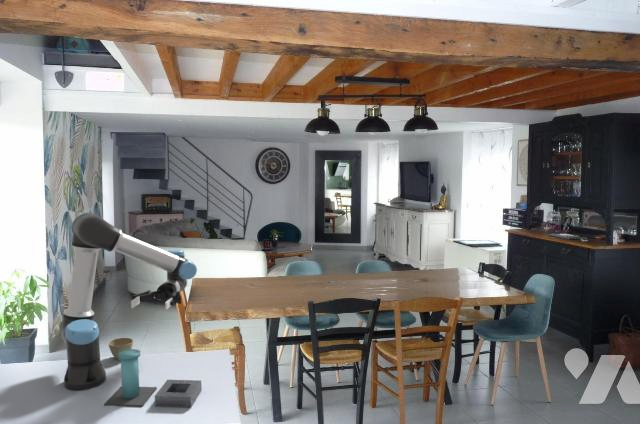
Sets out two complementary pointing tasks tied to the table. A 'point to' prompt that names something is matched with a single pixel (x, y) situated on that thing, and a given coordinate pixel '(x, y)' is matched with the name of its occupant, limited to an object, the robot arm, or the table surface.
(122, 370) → the teal capped cylinder
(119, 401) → the mat
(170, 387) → the housing
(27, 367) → the table surface
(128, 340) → the flower pot
